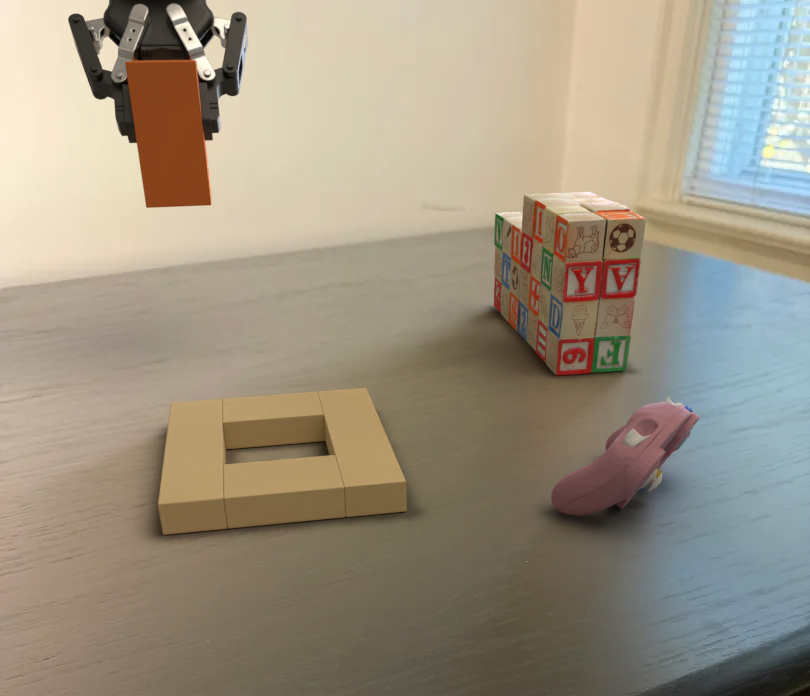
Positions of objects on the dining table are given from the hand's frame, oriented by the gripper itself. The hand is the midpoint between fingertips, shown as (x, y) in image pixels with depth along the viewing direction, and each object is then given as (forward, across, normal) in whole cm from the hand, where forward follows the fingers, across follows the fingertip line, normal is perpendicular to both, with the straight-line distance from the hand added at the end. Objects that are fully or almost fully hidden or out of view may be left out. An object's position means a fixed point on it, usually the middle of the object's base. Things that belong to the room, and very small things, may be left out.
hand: (169, 133), depth 67 cm
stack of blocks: (+12, -32, -13) cm, 37 cm away
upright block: (+2, 0, -5) cm, 5 cm away
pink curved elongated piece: (+35, -26, +9) cm, 44 cm away
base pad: (+29, -5, +3) cm, 29 cm away
